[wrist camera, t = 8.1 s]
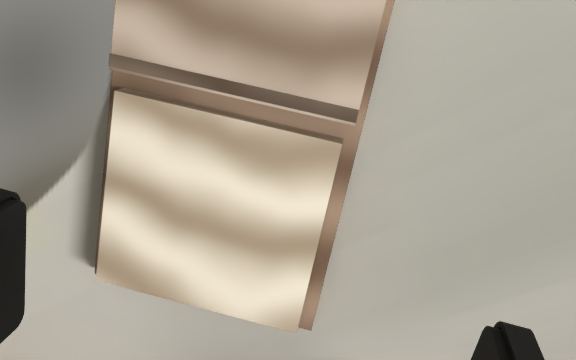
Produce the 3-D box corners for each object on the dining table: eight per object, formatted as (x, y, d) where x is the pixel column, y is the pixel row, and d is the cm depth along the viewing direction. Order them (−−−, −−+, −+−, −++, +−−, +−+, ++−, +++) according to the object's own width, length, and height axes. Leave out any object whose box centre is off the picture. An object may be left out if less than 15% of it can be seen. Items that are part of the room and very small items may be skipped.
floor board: (134, -97, 33) (114, -106, 31) (404, -42, 32) (407, -46, 30) (100, 267, 42) (83, 283, 40) (312, 323, 41) (308, 344, 38)
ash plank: (124, 87, 36) (114, 90, 35) (343, 138, 35) (342, 144, 33) (105, 270, 40) (95, 280, 39) (299, 322, 39) (296, 333, 38)
